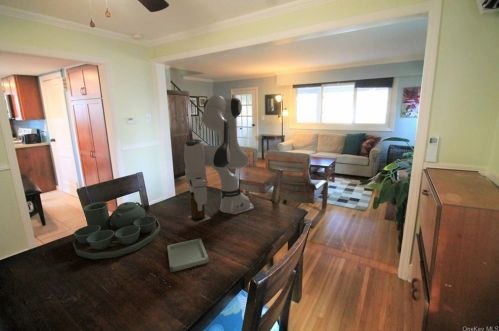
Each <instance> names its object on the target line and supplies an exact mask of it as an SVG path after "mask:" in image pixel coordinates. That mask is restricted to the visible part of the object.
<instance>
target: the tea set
mask: <svg viewBox="0 0 499 331" xmlns="http://www.w3.org/2000/svg"><path fill="white" fill-rule="evenodd" d="M108 205H109V203H108V202H107V201H98V202H91V203H90V204H86V205H85V206H83V207H82V211H83V212H84V214H85V215H84V216H85V220H86V225H85V226H82V227H80V228H78V229H76V230H75V231H73V236H74V237H75V239H74V240H73V241H72V245H73V248H74V249H73V250H75V253H76V255H77V256H78V257H82V258H85V259H90V260H100V259H102V260H103V259H112V258H117V257H122V256H123V255H126V254H130V253H133V252H136V251H138V250H140V249H141V248H144V247H145V246H147V245H148V244H150V243H151V242H153V241H154V240H155V238H156V237H157V236H158V234H160V233H159V232H160V231H161V224H160V222H159V220H158V218H157V217H155V216H150V215H148V214H146V210H145V208H143V207H142V206H141V203H140V202H137V201H136V202H133V201H126V202H123V203H120V204H119V205H117V206H116V207H117V208H115V210H113V211H112V213H111V214H110V213H109V207H108Z"/></svg>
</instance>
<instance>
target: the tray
mask: <svg viewBox="0 0 499 331" xmlns="http://www.w3.org/2000/svg"><path fill="white" fill-rule="evenodd" d="M167 255H168V263H169V264H168V265H169V271H170V272H169V273H174V272H178V271H183V270H186V269H189V268H192V267H193V266H194V267H196V266H197V265H198V266H200V265H205V264H208V263H210V258H209V255H208V252H207V251H206V248H205V245H204V242H203V240H202V238H201V237H200V238H195V239H191V240H187V241H186V240H185V241H182V242H177V243H173V244H172V243H171V244H168V245H167Z"/></svg>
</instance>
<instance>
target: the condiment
mask: <svg viewBox="0 0 499 331" xmlns="http://www.w3.org/2000/svg"><path fill="white" fill-rule="evenodd" d="M189 201H190V214H191V215H188V216H187V218H189V219H190V220H192V221H193V222H195V223H196V224H197V223H201V222H204V221H206V220H210V219H211V217H210V216H208V215H207V214H206V204H203V205H202V211H198V209H197V203H196V201H195V199H194V193H193V192H190V200H189Z"/></svg>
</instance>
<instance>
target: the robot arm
mask: <svg viewBox="0 0 499 331" xmlns="http://www.w3.org/2000/svg"><path fill="white" fill-rule="evenodd" d="M242 109H243V106H242V102H241V100H240V99H239V98H237V97H225V96H224V97H223V96H221V95H219V94H213V95H212V96H210V97H209V98H208V99H206V100H205V101H204V103H203V112H202V118H201V119H202V123H203V124H204V126H205V127H206V128H207V129H209V130H211V131H212V132H213V131H214V132H217V133H218V141H219V144H218V145H216V144H215V145H205V144H204V142H203V140H201V139H197V138H196V139H190V140H187V141H186V142H185V143H184V148H183V150H184V151H183V157H184V158H183V160H184V165H185V168H184V169H185V170H184V171H185V172H184V173H185V183H186V184H188V185H189V188H188V189H189V192H190V193H191V192H193V193H194V199H195V201H196V203H197V209H198V211H202V205H203V204H205V205H206V204H207V201H208V198H207V197H208V187H207V186H208V185H209V181H208V179H207V177H208V176H207V168H206V167H210V168H212V169H214V170H215V171H216V172H217V174H218V176H219V180H220V206H219V211H220V212H222V213H225V214H232V215H237V214H238V215H239V214H241V213H245V212H247V211H250V210H254V209H255V208H254V205H253V204H252V203H251V201H250V199H249V197H248V196H247V195H246V194H244V189H242V188H241V187H239V178H238V176H237V175H236V174H235V173H233V172H231V171H230V170H229V169H241V168H242V169H243V168H246V167H247V166H248V165H249V162H250V158H249V155H248V153H247V152H246V151H245V150H243V149H242V147H241V146H240V144H239V141H238V134H237V133H238V132H237V129H238V127H237V117H239V116H240V115H241V114H242Z"/></svg>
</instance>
